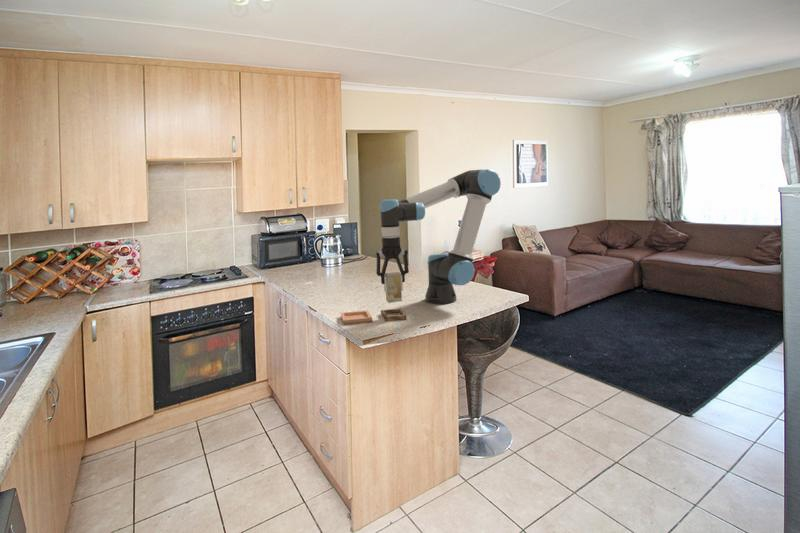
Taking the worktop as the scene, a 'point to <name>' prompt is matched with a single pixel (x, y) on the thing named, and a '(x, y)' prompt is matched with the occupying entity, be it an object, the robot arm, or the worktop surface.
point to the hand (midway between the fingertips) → (393, 290)
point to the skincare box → (393, 287)
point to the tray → (356, 317)
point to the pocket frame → (395, 317)
